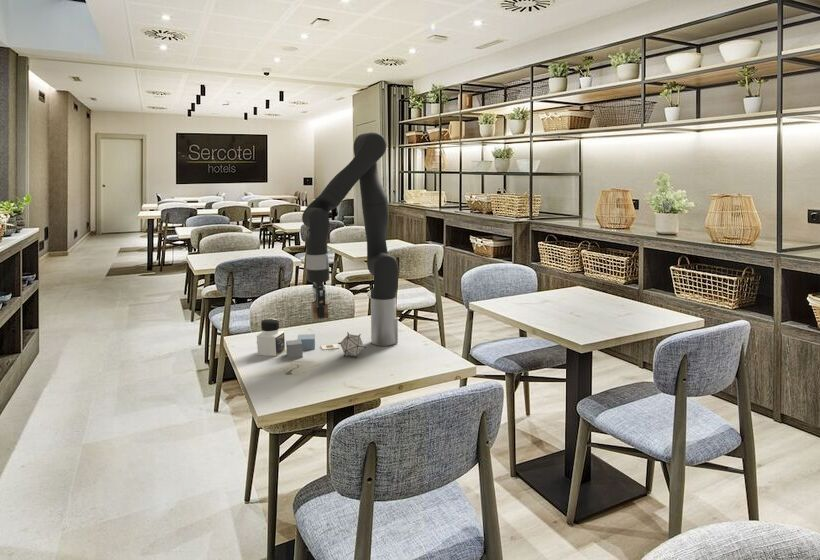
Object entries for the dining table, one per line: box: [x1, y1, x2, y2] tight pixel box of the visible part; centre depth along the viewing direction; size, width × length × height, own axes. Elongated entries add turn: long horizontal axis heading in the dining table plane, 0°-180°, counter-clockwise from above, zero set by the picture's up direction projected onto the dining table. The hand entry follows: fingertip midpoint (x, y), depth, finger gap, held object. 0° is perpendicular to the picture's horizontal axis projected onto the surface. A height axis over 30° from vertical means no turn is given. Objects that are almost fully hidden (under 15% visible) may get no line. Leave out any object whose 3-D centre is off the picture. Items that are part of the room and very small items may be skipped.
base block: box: [296, 333, 316, 351], centre depth 204 cm, size 6×6×4 cm
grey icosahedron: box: [337, 332, 367, 359], centre depth 193 cm, size 9×8×10 cm
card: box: [320, 343, 340, 351], centre depth 204 cm, size 6×4×1 cm
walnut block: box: [310, 300, 329, 320], centre depth 194 cm, size 5×5×5 cm
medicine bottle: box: [256, 317, 286, 357], centre depth 197 cm, size 7×7×12 cm
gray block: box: [285, 339, 304, 360], centre depth 194 cm, size 5×5×5 cm
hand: (320, 315), depth 194 cm, fingers closed on walnut block, 5 cm apart
